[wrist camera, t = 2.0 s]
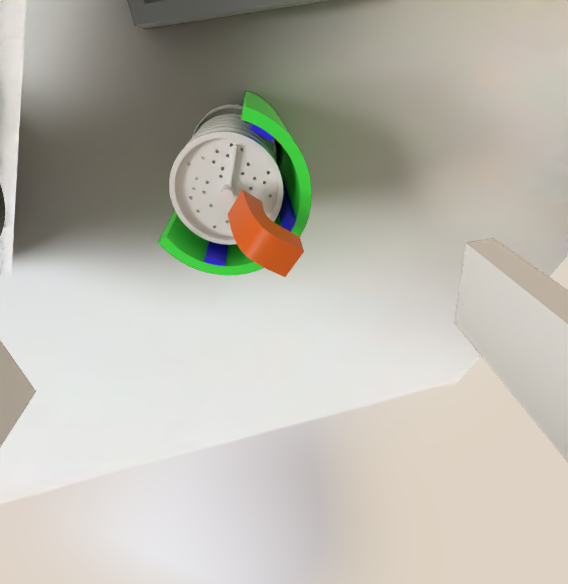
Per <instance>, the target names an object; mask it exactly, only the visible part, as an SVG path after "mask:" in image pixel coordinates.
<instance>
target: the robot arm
mask: <svg viewBox="0 0 568 584" xmlns="http://www.w3.org/2000/svg"><path fill="white" fill-rule="evenodd" d="M4 221H5V202H4V196H3V192H2V188H1V185H0V235H1V233H2V230H3V226H4ZM454 323H455V325H456V326H457V327H458V328H459V330H460V331H461V332H462V333H463V334H464V336H465V337H466V338H467V339H468V341H469V342H470V343H471V344H472V346H473V347H474V348H475V349H476V350H477V352H478V353H479V354H480V355H481V357H482V358H483V359H484V360H485V361H486V362H487V364H488V365H489V366H490V367H491V369H492V370H493V371H494V372H495V374H496V375H497V376H498V377H499V379H500V380H501V381H502V382H503V384H504V385H505V386H506V387H507V388H508V390H509V391H510V392H511V393H512V395H513V396H514V397H515V398H516V399H517V401H518V402H519V403H520V404H521V406H522V407H523V408H524V409H525V410H526V412H527V413H528V414H529V415H530V417H531V418H532V419H533V420H534V421H535V423H536V424H537V425H538V426H539V428H540V429H541V430H542V431H543V432H544V434H545V435H546V436H547V437H548V439H549V440H550V441H551V442H552V444H553V445H554V446H555V447H556V448H557V450H558V451H559V452H560V453H561V455H562V456H563V457H564V458H565V459H566V461H567V462H568V290H567V289H566V288H564V287H562V286H561V285H560V284H559V283H557V282H555V281H554V280H552V279H551V278H550V277H548V276H547V275H546V274H544V273H543V272H541V271H540V270H538V269H537V268H535V267H534V266H533V265H531V264H530V263H528V262H527V261H525V260H524V259H522V258H521V257H520V256H518V255H517V254H515V253H514V252H512V251H511V250H510V249H508V248H507V247H505V246H504V245H502V244H501V243H499V242H498V241H497V240H495V239H494V238H492V239H486V240H479V241H473V242H467V243H466V244H465V251H464V258H463V265H462V272H461V279H460V286H459V293H458V300H457V307H456V314H455V321H454ZM35 392H36V391H35V389H34V388H33V386H32V385H31V383H30V382H29V381H28V379H27V378H26V376H25V375H24V373H23V372H22V371H21V369H20V368H19V366H18V365H17V363H16V362H15V361H14V359H13V358H12V356H11V355H10V353H9V352H8V351H7V349H6V348H5V346H4V345H3V343H2V342H1V341H0V447H1V445H2V444H3V442H4V441H5V439H6V438H7V436H8V434H9V433H10V431H11V430H12V428H13V427H14V425H15V423H16V422H17V420H18V419H19V417H20V416H21V414H22V413H23V411H24V409H25V408H26V406H27V405H28V403H29V402H30V400H31V398H32V397H33V395H34V394H35Z"/></svg>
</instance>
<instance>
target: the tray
mask: <svg viewBox="0 0 568 584" xmlns="http://www.w3.org/2000/svg"><path fill="white" fill-rule="evenodd" d="M127 1H128V4H129V8H130V11H131V15H132V18H133V22H134V25H135V26H138V27H141V28H143V29H148V28H154V27H161V26H167V25H174V24H180V23H187V22H193V21H200V20H207V19H213V18H220V17H226V16H233V15H239V14H246V13H252V12H259V11H265V10H272V9H278V8H285V7H291V6H298V5H304V4H311V3H317V2H324V1H330V0H127Z"/></svg>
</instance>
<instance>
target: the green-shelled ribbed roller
mask: <svg viewBox="0 0 568 584" xmlns="http://www.w3.org/2000/svg"><path fill="white" fill-rule="evenodd" d="M274 138H275V139H276V140H277V141H278V142H279V143H280V144H281V156H280V161H279V163H277V161H276V145H275V141H274ZM169 192H170V198H171V201H172V204H173V207H174V209H175V210H174V212H173V214H172V216H171V218H170V220H169V222H168V224H167V226H166V228H165V230H164V231H163V233H162V235H161V237H160V239H159V241H158V243H159V244H160V245H161V246H162V247H163V248H164V249H165V250H166V251H167V252H168V253H170V254H171V255H172V256H173V257H175V258H176V259H178V260H179V261H181V262H183V263H184V264H186V265H188V266H190V267H192V268H195V269H197V270H200V271H204V272H207V273H212V274H219V275H239V274H246V273H250V272H254V271H257V270H260V269H262V268H266V269H268V270H271V271H273V272H275V273H277V274H280V275H282V276H284V277H286V275H287V274H288V272H289V271H290V270H291V268H292V267H293V266H294V264H295V263H296V261H297V260H298V259H299V257H300V256H301V255H302V253H303V252H304V251H303V247H302V244H301V241H300V235H301V233H302V232H303V230H304V227H305V225H306V223H307V220H308V217H309V212H310V207H311V198H312V190H311V180H310V175H309V171H308V168H307V165H306V162H305V160H304V157H303V155H302V153H301V152H300V150H299V148H298V146H297V145H296V143H295V142H294V140H293V138H292V137H291V135H290V133H289V132H288V130H287V129H286V127H285V125H284V124H283V122H282V121H281V119H280V117H279V116H278V114H277V113H276V111H275V110H274V109H273V108H272V107H271V106H270V105H269V104H268V103H267V102H266V101H265V100H264V99H262V98H261V97H259V96H258V95H256V94H254V93H251V92H249V91H246V93H245V97H244V103H243V106H242V105H237V104H227V105H222V106H219V107H216V108H214V109H212V110H211V111H209V112H208V113H207V114H206V115H205V116H204V117H203V118H202V119H201V120H200V121H199V123H198V124H197V126H196V127H195V129H194V132H193V134H192V138H191V139H190V141H189V142H188V143H187V144H186V146H185V147H184V148H183V149H182V151H181V152H180V153H179V155H178V156H177V158H176V160H175V161H174V164H173V166H172V169H171V173H170V178H169Z"/></svg>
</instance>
